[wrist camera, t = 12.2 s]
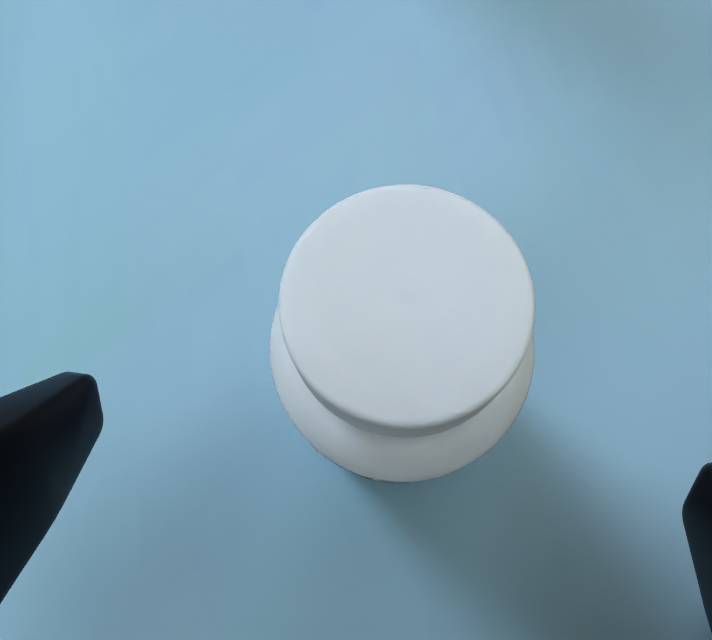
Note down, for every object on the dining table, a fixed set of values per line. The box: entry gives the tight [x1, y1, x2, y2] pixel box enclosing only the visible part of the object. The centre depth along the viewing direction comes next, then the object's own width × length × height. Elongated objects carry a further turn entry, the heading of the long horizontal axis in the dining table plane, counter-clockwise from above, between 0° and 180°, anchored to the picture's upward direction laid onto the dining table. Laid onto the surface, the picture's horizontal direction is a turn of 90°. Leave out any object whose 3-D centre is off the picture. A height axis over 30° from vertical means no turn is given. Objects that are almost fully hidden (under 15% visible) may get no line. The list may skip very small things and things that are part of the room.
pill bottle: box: [270, 184, 535, 483], centre depth 13 cm, size 5×5×10 cm
